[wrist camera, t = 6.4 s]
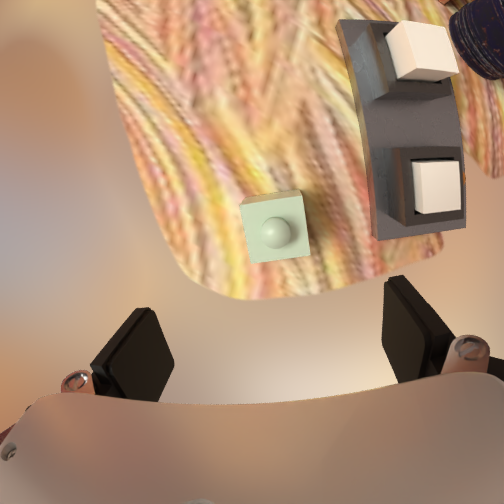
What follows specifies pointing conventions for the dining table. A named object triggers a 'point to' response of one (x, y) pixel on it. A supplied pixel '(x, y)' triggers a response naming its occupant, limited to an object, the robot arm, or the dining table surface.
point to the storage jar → (480, 36)
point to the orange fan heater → (443, 1)
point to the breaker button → (420, 52)
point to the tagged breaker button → (435, 185)
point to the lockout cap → (275, 226)
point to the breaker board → (399, 132)
